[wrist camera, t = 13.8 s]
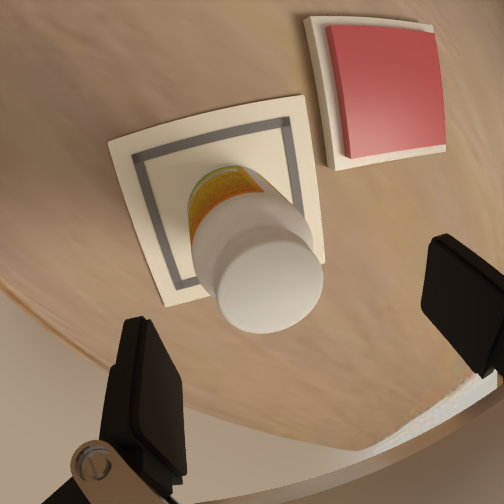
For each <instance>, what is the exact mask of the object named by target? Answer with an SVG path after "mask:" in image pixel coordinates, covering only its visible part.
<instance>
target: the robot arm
mask: <svg viewBox="0 0 504 504" xmlns="http://www.w3.org/2000/svg"><path fill="white" fill-rule="evenodd" d="M421 309H422V311H423V313H424V314H425V315H426V316H427V317H428V319H429V320H430V321H431V322H432V323H433V324H434V325H435V326H436V328H437V329H438V330H439V331H440V332H441V333H442V335H443V336H444V337H445V338H446V339H447V340H448V342H449V343H450V344H451V345H452V346H453V348H454V349H455V350H456V351H457V352H458V354H459V355H460V356H461V357H462V358H463V360H464V361H465V362H466V363H467V365H468V366H469V367H470V368H471V370H472V371H473V372H474V373H478V374H479V376H480V377H481V378H482V379H484V378H485V377H487V376H488V375H490V374H491V373H493V371H494V369H496V370H497V377H498V378H497V381H498V382H497V383H498V384H497V389H496V390H494V391H493V392H491V393H490V394H488V395H487V396H485V397H484V398H482V399H481V400H479V401H478V402H476V403H475V404H473V405H472V406H470V407H469V408H467V409H465V410H464V411H462V412H460V413H459V414H457V415H455V416H454V417H452V418H450V419H449V420H447V421H445V422H443V423H441V424H440V425H438V426H436V427H434V428H432V429H430V430H429V431H427V432H425V433H423V434H421V435H419V436H417V437H415V438H413V439H411V440H409V441H407V442H405V443H403V444H401V445H398V446H396V447H394V448H392V449H390V450H387V451H385V452H383V453H381V454H378V455H376V456H374V457H371V458H368V459H366V460H363V461H361V462H359V463H356V464H353V465H351V466H348V467H345V468H342V469H339V470H337V471H334V472H331V473H328V474H325V475H322V476H318V477H315V478H312V479H309V480H305V481H302V482H298V483H295V484H291V485H287V486H283V487H279V488H275V489H271V490H266V491H262V492H258V493H253V494H248V495H244V496H238V497H233V498H227V499H222V500H215V501H208V502H202V503H196V504H504V275H503V274H501V273H500V272H499V271H498V270H496V269H495V268H494V267H493V266H491V265H490V264H489V263H487V262H486V261H485V260H484V259H482V258H481V257H480V256H478V255H477V254H476V253H474V252H473V251H472V250H470V249H469V248H467V247H466V246H465V245H463V244H462V243H461V242H459V241H458V240H456V239H455V238H454V237H452V236H451V235H449V234H442V235H439V236H436V237H434V238H432V240H431V243H430V244H429V247H428V255H427V264H426V272H425V279H424V286H423V292H422V299H421ZM70 467H71V473H72V475H73V476H72V477H71V478H70V479H69V480H68V481H67V482H65V483H64V484H63V485H62V486H61V487H60V488H59V489H58V490H57V491H55V492H54V493H53V494H52V495H51V496H50V497H49V498H47V499H46V500H45V501H44V502H43V503H42V504H180V503H179V502H177V501H176V500H175V499H174V498H173V497H172V496H171V494H172V493H173V489H172V485H181V484H183V480H182V476H185V475H186V474H187V462H186V449H185V434H184V418H183V393H182V381H181V377H180V375H179V373H178V371H177V369H176V367H175V366H174V364H173V362H172V360H171V358H170V356H169V354H168V352H167V350H166V349H165V347H164V345H163V343H162V341H161V339H160V337H159V335H158V333H157V331H156V329H155V327H154V325H153V323H152V321H151V320H150V319H148V320H146V319H145V318H144V317H143V316H140V317H135V318H131V319H126V320H125V321H124V324H123V329H122V334H121V339H120V344H119V349H118V354H117V359H116V364H115V365H113V366H112V367H111V369H110V372H109V377H108V383H107V388H106V394H105V400H104V407H103V413H102V420H101V427H100V435H99V440H92V441H88V442H86V443H84V444H82V445H81V446H80V447H79V448H78V449H77V450H76V451H75V453H74V454H73V456H72V459H71V464H70Z"/></svg>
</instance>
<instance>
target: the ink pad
mask: <svg viewBox="0 0 504 504" xmlns="http://www.w3.org/2000/svg"><path fill="white" fill-rule="evenodd" d="M303 23H304V28H305V32H306V37H307V42H308V47H309V52H310V57H311V62H312V67H313V73H314V78H315V84H316V90H317V96H318V102H319V108H320V115H321V122H322V128H323V136H324V143H325V151H326V159H327V167H328V168H330V169H332V170H334V171H338V170H343V169H348V168H353V167H358V166H363V165H368V164H374V163H379V162H385V161H390V160H396V159H402V158H408V157H414V156H420V155H426V154H432V153H439V152H445V151H446V135H445V115H444V101H443V90H442V81H441V73H440V65H439V58H438V52H437V46H436V40H435V34H434V30H433V25H428V24H422V23H415V22H408V21H401V20H392V19H382V18H370V17H352V16H310V17H308V18H306V19H304V20H303Z"/></svg>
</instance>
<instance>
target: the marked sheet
mask: <svg viewBox="0 0 504 504" xmlns="http://www.w3.org/2000/svg"><path fill="white" fill-rule="evenodd" d="M107 143H108V147H109V150H110V153H111V157H112V160H113V164H114V167H115V170H116V174H117V177H118V180H119V183H120V186H121V189H122V192H123V196H124V199H125V202H126V205H127V208H128V210H129V213H130V216H131V219H132V222H133V225H134V228H135V230H136V233H137V236H138V239H139V241H140V244H141V247H142V250H143V252H144V255H145V257H146V260H147V263H148V265H149V268H150V270H151V273H152V275H153V278H154V280H155V283H156V285H157V288H158V290H159V293H160V295H161V297H162V300H163V302H164V304H165V307H170V306H173V305H177V304H181V303H185V302H189V301H192V300H196V299H200V298H204V297H207V296H211V295H210V294H209V293H208V292H207V291H206V290H205V289H204V288H203V287H202V285H201V284H200V282H199V280H198V278H197V276H196V274H195V270H194V266H193V262H192V255H191V244H190V234H189V224H188V214H187V207H188V200H189V196H190V194H191V191H192V189H193V187H194V186H195V184H196V183H197V182H198V181H199V179H200V178H201V177H202V176H204V175H205V174H206V173H208V172H209V171H211V170H213V169H216V168H218V167H222V166H227V165H239V166H244V167H248V168H250V169H252V170H254V171H256V172H257V173H259V174H260V175H262V176H263V177H264V178H265V179H266V180H267V181H268V182H269V183H270V184H271V185H272V186H274V187H275V188H276V189H277V190H278V191H279V192H280V193H281V194H282V195H283V196H284V197H285V198H286V199H287V200H288V201H289V202H290V203H291V204H293V205H294V206H295V207H296V208H297V209H298V211H299V212H300V213H301V214H302V216H303V217H304V218H305V220H306V221H307V223H308V225H309V228H310V230H311V233H312V238H313V253H314V254H315V255H316V257H317V258H318V260H319V262H320V264H323V263H325V254H324V243H323V232H322V222H321V213H320V203H319V195H318V186H317V178H316V170H315V163H314V155H313V148H312V141H311V134H310V128H309V121H308V115H307V109H306V103H305V97H304V95H298V96H291V97H284V98H278V99H271V100H266V101H260V102H254V103H249V104H244V105H239V106H234V107H229V108H224V109H220V110H215V111H211V112H207V113H203V114H199V115H194V116H191V117H187V118H183V119H179V120H175V121H172V122H168V123H165V124H161V125H158V126H154V127H151V128H148V129H144V130H141V131H138V132H135V133H132V134H129V135H126V136H123V137H120V138H117V139H114V140H111V141H108V142H107Z"/></svg>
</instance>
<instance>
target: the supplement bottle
mask: <svg viewBox="0 0 504 504" xmlns="http://www.w3.org/2000/svg"><path fill="white" fill-rule="evenodd" d="M187 214H188V224H189V234H190V244H191V255H192V262H193V266H194V270H195V274H196V276H197V278H198V280H199V282H200V284H201V285H202V287H203V288H204V289H205V290H206V291H207V292H208V293H209V294H210V295H211V296H212V297H213V298H215V299H216V300H217V304H218V307H219V309H220V311H221V313H222V314H223V316H224V317H225V318H226V320H227V321H228V322H230V323H231V324H232V325H233V326H235V327H237V328H239V329H241V330H243V331H247V332H251V333H272V332H277V331H280V330H283V329H286V328H288V327H290V326H292V325H294V324H296V323H297V322H299V321H300V320H301V319H303V318H304V317H305V316H306V315H307V314H308V313H309V312H310V311H311V310H312V309H313V307H314V306H315V304H316V303H317V301H318V299H319V297H320V294H321V291H322V287H323V271H322V267H321V264H320V262H319V260H318V258H317V257H316V255H315V254H314V253H313V238H312V233H311V230H310V228H309V225H308V223H307V221H306V220H305V218H304V217H303V216H302V214H301V213H300V212H299V211H298V209H297V208H296V207H295V206H294V205H293V204H291V203H290V202H289V201H288V200H287V199H286V198H285V197H284V196H283V195H282V194H281V193H280V192H279V191H278V190H277V189H276V188H275V187H274V186H272V185H271V184H270V183H269V182H268V181H267V180H266V179H265V178H264V177H263V176H262V175H260V174H259V173H257V172H256V171H254V170H252V169H250V168H248V167H244V166H239V165H227V166H222V167H218V168H216V169H213V170H211V171H209V172H208V173H206V174H205V175H204V176H202V177H201V178H200V179H199V181H198V182H197V183H196V184H195V186H194V187H193V189H192V191H191V194H190V196H189V200H188V207H187Z"/></svg>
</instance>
